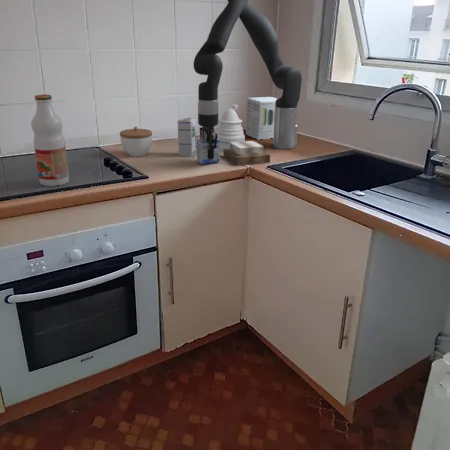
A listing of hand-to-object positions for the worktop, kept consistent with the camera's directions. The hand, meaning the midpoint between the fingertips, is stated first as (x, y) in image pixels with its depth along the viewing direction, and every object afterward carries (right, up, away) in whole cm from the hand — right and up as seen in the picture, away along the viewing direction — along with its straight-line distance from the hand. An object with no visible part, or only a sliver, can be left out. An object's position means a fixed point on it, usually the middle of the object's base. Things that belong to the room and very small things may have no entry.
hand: (208, 156), depth 178 cm
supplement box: (+25, +16, +46) cm, 54 cm away
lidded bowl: (-29, +3, +11) cm, 31 cm away
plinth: (+15, 0, +6) cm, 16 cm away
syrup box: (-9, +2, +12) cm, 15 cm away
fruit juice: (-50, -12, -24) cm, 57 cm away
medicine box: (0, -2, +1) cm, 2 cm away
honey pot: (+8, +7, +24) cm, 26 cm away
